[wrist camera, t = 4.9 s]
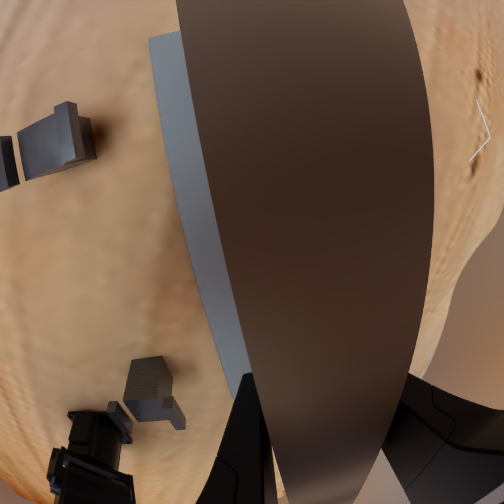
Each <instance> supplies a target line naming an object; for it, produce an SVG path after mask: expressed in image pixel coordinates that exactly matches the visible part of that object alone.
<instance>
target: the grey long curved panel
mask: <svg viewBox="0 0 504 504" xmlns="http://www.w3.org/2000/svg"><path fill="white" fill-rule="evenodd" d="M148 39H149V47H150V55H151V63H152V70H153V77H154V84H155V91H156V97H157V103H158V110H159V115H160V121H161V127H162V132H163V138H164V143H165V148H166V154H167V159H168V164H169V168H170V173H171V178H172V183H173V187H174V192H175V196H176V201H177V205H178V210H179V214H180V218H181V222H182V227H183V231H184V235H185V239H186V243H187V247H188V251H189V255H190V258H191V262H192V266H193V270H194V274H195V277H196V281H197V285H198V288H199V292H200V295H201V299H202V302H203V306H204V309H205V313H206V316H207V319H208V323H209V326H210V329H211V333H212V336H213V339H214V342H215V345H216V349H217V352H218V355H219V358H220V361H221V364H222V367H223V370H224V373H225V376H226V379H227V382H228V385H229V388H230V391H231V394H232V397H233V399H234V400H235V397H236V394H237V391H238V387H239V384H240V381H241V378H242V375H243V374H245V373H249V372H252V370H251V366H250V362H249V358H248V354H247V350H246V346H245V342H244V338H243V334H242V330H241V326H240V322H239V318H238V314H237V310H236V305H235V301H234V297H233V293H232V289H231V284H230V280H229V276H228V271H227V267H226V263H225V258H224V254H223V249H222V245H221V240H220V236H219V231H218V227H217V222H216V217H215V213H214V208H213V203H212V199H211V194H210V189H209V184H208V179H207V174H206V169H205V165H204V160H203V154H202V149H201V144H200V139H199V134H198V129H197V123H196V118H195V113H194V107H193V102H192V96H191V91H190V85H189V79H188V73H187V68H186V62H185V56H184V49H183V43H182V37H181V31H177V32H172V33H168V34H163V35H159V36H155V37H151V38H148Z"/></svg>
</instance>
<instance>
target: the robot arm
mask: <svg viewBox="0 0 504 504" xmlns="http://www.w3.org/2000/svg"><path fill="white" fill-rule="evenodd" d="M67 416H68V418H69V419H70V420H71V421H72V422H73V425H72V428H71V431H70V435H69V438H68V440H69V445H68V449H66V448H65V447H63V446H61V448H60V449H59V448H58V449H57V448H53V450H52V454H51V457H50V461H49V466H48V471H47V477H46V478H47V479H48V481H49V483H50V485H49V486H50V492H51V493H53V494H55V499H54V504H136V500H135V493H134V484H133V476H132V475H129V474H124V473H121V472H119V471H118V469H119V461H120V453H121V446H122V444H132V441H133V440H132V439H131V438H130V437H129V435H128V434H127V433H123V432H122V431H121V430H120V429H119V428H118V426H117V425H116V424H115V423H114V422H113V420H112V419H111V418H110V417H109V415H108V414H107V413H106V412H100V413H83V412H68V414H67ZM381 449H382V450H383V452H384V454H385V456H386V457H387V460H388V461H389V463H390V465H391V467H392V469H393V471H394V473H395V474H396V476H397V478H398V480H399V482H400V484H401V485H402V487H403V489H404V492H405V493H406V495H407V497H408V499H409V501H410V503H411V504H504V410H497V409H492V408H488V407H485V406H482V405H479V404H476V403H474V402H471V401H468V400H465V399H462V398H460V397H457V396H455V395H452V394H450V393H447V392H446V391H443V390H441V389H439V388H437V387H435V386H433V385H432V386H431V384H429V383H427V382H426V381H424V380H422V379H420V378H418V377H416V376H414V375H412V374H410V373H408V375H407V379H406V382H405V385H404V388H403V391H402V395H401V398H400V400H399V403H398V406H397V409H396V412H395V415H394V417H393V420H392V423H391V425H390V428H389V430H388V433H387V435H386V438H385V440H384V442H383V445H382V447H381ZM63 465H64V466H65V467H63ZM195 504H278V499H277V490H276V481H275V472H274V463H273V454H272V445H271V440H270V437H269V433H268V429H267V426H266V422H265V419H264V415H263V411H262V408H261V404H260V400H259V396H258V393H257V389H256V385H255V381H254V377H253V374H252V372H249V373H245V374H243V375H242V378H241V381H240V384H239V387H238V391H237V394H236V397H235V400H234V403H233V407H232V410H231V413H230V416H229V419H228V422H227V425H226V428H225V432H224V435H223V438H222V441H221V444H220V447H219V450H218V453H217V457H216V458H215V461H214V464H213V467H212V470H211V472H210V475H209V478H208V480H207V482H206V484H205V486H204V488H203V490H202V492H201V494H200V496H199V498H198V500H197V502H196V503H195Z"/></svg>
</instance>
